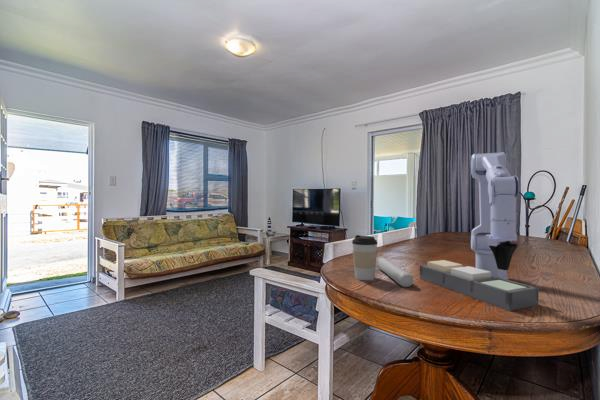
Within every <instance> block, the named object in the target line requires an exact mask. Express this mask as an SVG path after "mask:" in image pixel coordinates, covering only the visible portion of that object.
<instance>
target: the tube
mask: <svg viewBox="0 0 600 400" xmlns="http://www.w3.org/2000/svg"><path fill="white" fill-rule="evenodd" d="M376 267H377V268H378V269H380V270H381V271H382V272H384V273H385V274H386V275H388V277H390V278H391V279H392V280H393V281H394V282H396V283H397V284H398V285H400V287H402V288H410V287H411V286H412V285H413V284H414V276H413V275H412V274H410V273H409V272H407V271H406V270H404V269H403V268H401V267H400V266H398V265H396V264H395V263H394V262H392V261H391V260H390V259H388V258H387V257H386V256H380V257H378V259H376Z"/></svg>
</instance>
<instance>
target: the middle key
mask: <svg viewBox="0 0 600 400" xmlns="http://www.w3.org/2000/svg"><path fill="white" fill-rule="evenodd" d="M451 274H453V275H456V276H459V277H463V278H466V279H469V280H473V281H474V280H481V279H488V278H491V272H490V271H486V270H482V269H478V268H476V267H474V266H468V265H467V266H463V267H458V268H451Z"/></svg>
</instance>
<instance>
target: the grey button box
mask: <svg viewBox="0 0 600 400" xmlns="http://www.w3.org/2000/svg"><path fill="white" fill-rule="evenodd" d="M419 279H420V280H422V279H423V280H422V281H426V282H428V283H431V284H434V285H436V286H439V287H442V288H444V289H448V290H451V291H453V292H456V293H459V294H461V295H464V296H466V297H470V298H473V299H475V300H478V301H481V302H484V303H487V304H489V305H491V306H495V307H498V308H501V309H502V310H506V311H508V312H511V311H516V309H517V310H522V309H526V307H527V308H531V307H530V306H532V307H536V306H535V305H537V306H539V287H536V286H532V285H528V284H525V283H521V282H518V281H514V280H510V279H507V280H506V279H503V278H499V277H495V276H491V278H488V279H481V280H474V281H473V280H469V279H466V278H463V277H459V276H456V275H453V274H451V272H443V271H439V270H436V269H433V268H429V267H427V264H424V265H419ZM494 280H502V281H506V282H509V283H513V284H517V285H520V286H524V287H527V288H524V289H518V290H512V291H506V290H503V289H499V288H496V287H493V286H489V285H486V284H483V283H480V282H487V281H494ZM521 308H522V309H521Z"/></svg>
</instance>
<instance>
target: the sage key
mask: <svg viewBox="0 0 600 400" xmlns="http://www.w3.org/2000/svg"><path fill="white" fill-rule="evenodd" d="M480 283H483V284H486V285H489V286H493V287H496V288H499V289H503V290H506V291H512V290H518V289H524V288H527V287H524V286H520V285H517V284H513V283H509V282H506V281H502V280H494V281H487V282H480Z"/></svg>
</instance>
